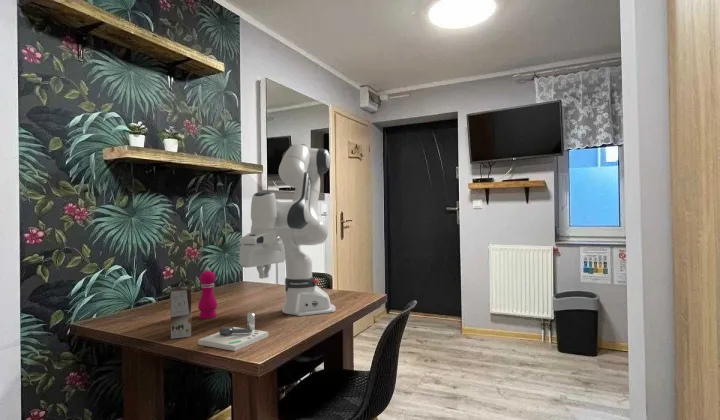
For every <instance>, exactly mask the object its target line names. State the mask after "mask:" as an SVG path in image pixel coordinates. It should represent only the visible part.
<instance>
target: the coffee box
mask: <svg viewBox="0 0 720 420" xmlns="http://www.w3.org/2000/svg"><path fill="white" fill-rule="evenodd" d="M190 337H192V285H180V286H172V287H171V289H170V339H171V340H172V339H180V338H190Z"/></svg>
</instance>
